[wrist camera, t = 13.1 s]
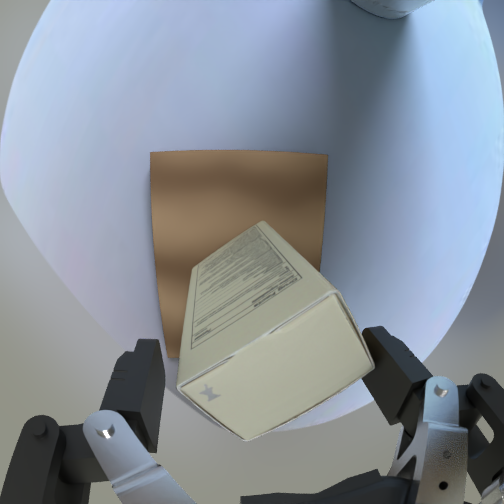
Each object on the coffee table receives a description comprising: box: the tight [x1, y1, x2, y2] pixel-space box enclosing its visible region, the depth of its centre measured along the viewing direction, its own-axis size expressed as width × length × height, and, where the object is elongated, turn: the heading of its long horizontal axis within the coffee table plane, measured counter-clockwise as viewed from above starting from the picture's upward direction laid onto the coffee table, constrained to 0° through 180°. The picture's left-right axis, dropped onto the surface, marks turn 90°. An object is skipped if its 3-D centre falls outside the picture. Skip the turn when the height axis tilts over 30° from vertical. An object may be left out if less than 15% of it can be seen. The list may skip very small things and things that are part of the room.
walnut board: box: [150, 150, 328, 358], centre depth 21 cm, size 16×12×2 cm
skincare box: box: [176, 221, 375, 442], centre depth 15 cm, size 6×4×12 cm
